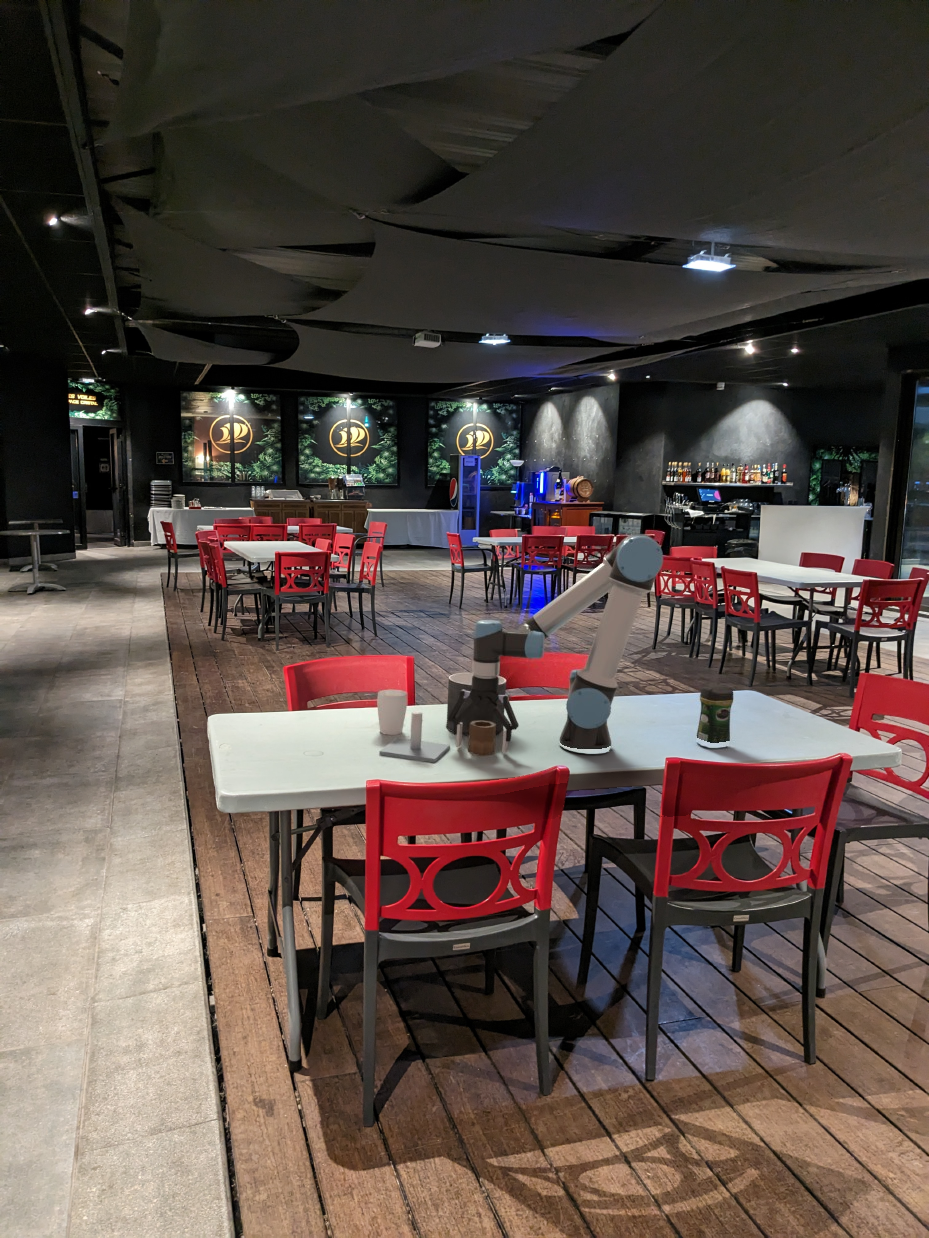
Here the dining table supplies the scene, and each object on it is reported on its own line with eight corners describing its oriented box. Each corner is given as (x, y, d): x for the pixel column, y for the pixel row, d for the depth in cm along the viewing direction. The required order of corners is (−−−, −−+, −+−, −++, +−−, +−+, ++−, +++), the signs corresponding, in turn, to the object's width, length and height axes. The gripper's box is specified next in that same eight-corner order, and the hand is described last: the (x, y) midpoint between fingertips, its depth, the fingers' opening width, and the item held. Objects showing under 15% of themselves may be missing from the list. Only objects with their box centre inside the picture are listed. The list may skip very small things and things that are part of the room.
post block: (450, 748, 243) (451, 710, 241) (434, 762, 230) (436, 722, 228) (397, 740, 247) (398, 704, 246) (379, 754, 234) (380, 715, 232)
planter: (437, 730, 260) (439, 680, 257) (459, 717, 276) (461, 670, 274) (491, 740, 253) (494, 688, 251) (511, 725, 270) (514, 677, 267)
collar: (496, 749, 244) (497, 722, 243) (490, 756, 237) (491, 728, 236) (472, 746, 246) (474, 719, 245) (466, 753, 239) (467, 725, 238)
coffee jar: (717, 740, 264) (723, 682, 262) (733, 748, 257) (739, 688, 254) (690, 742, 261) (696, 683, 258) (706, 750, 254) (712, 689, 251)
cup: (401, 737, 251) (403, 697, 249) (372, 734, 253) (373, 694, 251) (409, 729, 260) (411, 690, 258) (381, 726, 262) (382, 688, 260)
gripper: (531, 677, 239) (527, 751, 242) (447, 668, 245) (443, 739, 248) (526, 683, 231) (521, 758, 235) (439, 673, 238) (435, 746, 241)
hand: (481, 749), depth 242 cm, fingers open, 13 cm apart
